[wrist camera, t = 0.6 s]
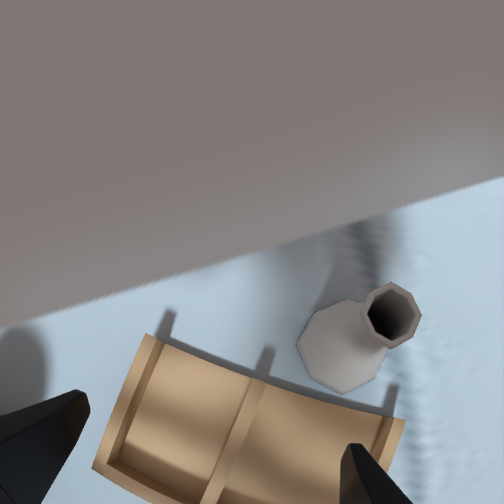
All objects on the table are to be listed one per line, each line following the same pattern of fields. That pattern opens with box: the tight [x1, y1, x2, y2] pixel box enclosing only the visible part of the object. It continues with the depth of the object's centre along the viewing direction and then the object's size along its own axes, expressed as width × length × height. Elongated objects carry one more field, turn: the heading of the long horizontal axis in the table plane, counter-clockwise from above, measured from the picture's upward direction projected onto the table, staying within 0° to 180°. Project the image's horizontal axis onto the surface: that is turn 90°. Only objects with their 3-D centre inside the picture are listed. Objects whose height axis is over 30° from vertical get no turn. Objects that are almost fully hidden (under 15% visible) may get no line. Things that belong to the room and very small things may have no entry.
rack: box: [91, 333, 406, 504], centre depth 18 cm, size 12×20×3 cm, turn 69°
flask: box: [296, 282, 422, 395], centre depth 18 cm, size 7×7×10 cm
